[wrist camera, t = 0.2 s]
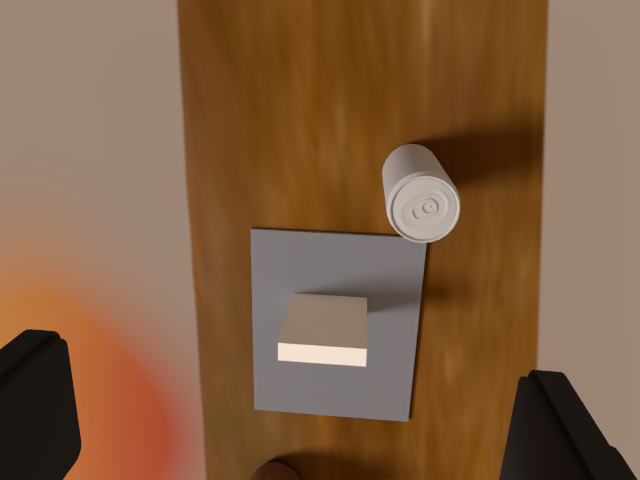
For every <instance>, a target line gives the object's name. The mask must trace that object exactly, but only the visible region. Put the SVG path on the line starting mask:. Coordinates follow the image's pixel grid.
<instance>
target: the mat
mask: <svg viewBox="0 0 640 480" xmlns="http://www.w3.org/2000/svg"><path fill="white" fill-rule="evenodd" d="M426 245H427V243H419V242H413V241H410V240H408V239H405V238H404V237H403V236H395V235H376V234H357V233H338V232H319V231H301V230H282V229H263V228H251V270H252V317H253V364H254V410H267V411H279V412H292V413H304V414H317V415H330V416H342V417H355V418H368V419H380V420H393V421H405V422H408V418H409V409H410V399H411V389H412V380H413V370H414V361H415V351H416V341H417V332H418V322H419V312H420V303H421V293H422V284H423V274H424V264H425V255H426ZM293 293H300V294H316V295H332V296H348V297H364V298H367V356H366V367H363V366H349V365H336V364H322V363H308V362H294V361H280V360H278V341H279V338H280V335H281V331H282V328H283V325H284V322H285V318H286V315H287V312H288V309H289V306H290V302H291V299H292V296H293Z"/></svg>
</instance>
